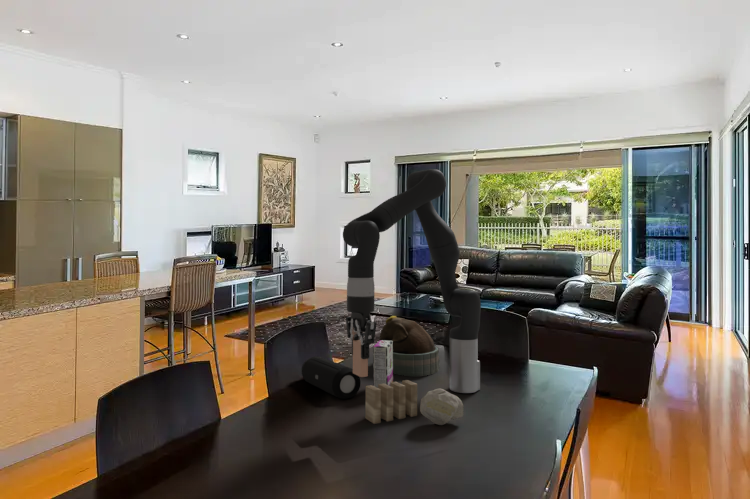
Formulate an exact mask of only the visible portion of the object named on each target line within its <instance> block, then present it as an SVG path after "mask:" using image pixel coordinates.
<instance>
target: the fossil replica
mask: <svg viewBox="0 0 750 499" xmlns="http://www.w3.org/2000/svg"><path fill="white" fill-rule="evenodd" d="M464 409H465V408H464V404H463V401H462V400H461V398H459V397H458V396H457V395H455V394H453V393H451V392H449V391H447V390H446V389H443V388H435V389H434V390H433V389H432V390H429V391H427V393H426V394H425V395H424V396H423V397H421V399H420V405H419V412H420V414H422V416H423V417H425V418H426V419H428V420H429V421H430V422H432V423H433V424H434V425H435V424H436V425H439V426H443V425H445V424H447V423H449V422H450V420H452V421H453V420H456V419H461V418H463V416H464Z"/></svg>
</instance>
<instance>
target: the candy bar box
mask: <svg viewBox="0 0 750 499" xmlns="http://www.w3.org/2000/svg"><path fill="white" fill-rule="evenodd" d="M372 352H373V353H372V363H373V364H372V365H373V366H372V369H373V373H372V374H373V378H372V379H373V382H372V383H373V386H375V387H377V388H378V384H383V383H384V384H387V385H389V386H390V382H394V374H393V341H388V340H379V341H377V343H375V344H374V345H373V347H372Z"/></svg>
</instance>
